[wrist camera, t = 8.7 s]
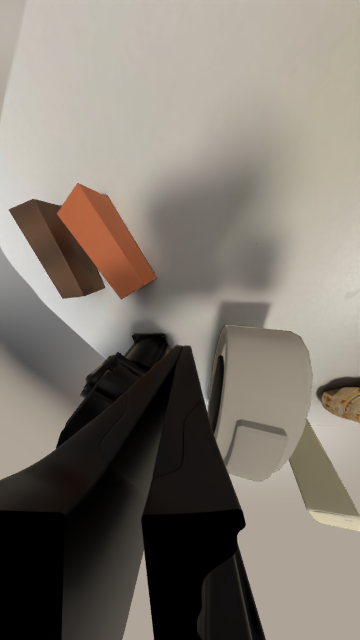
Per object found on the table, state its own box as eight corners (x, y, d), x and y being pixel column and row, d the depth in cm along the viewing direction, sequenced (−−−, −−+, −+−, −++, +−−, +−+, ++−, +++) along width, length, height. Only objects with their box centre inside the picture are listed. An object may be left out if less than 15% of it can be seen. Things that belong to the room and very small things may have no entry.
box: (263, 392, 25) (304, 509, 14) (290, 387, 23) (363, 520, 12) (273, 408, 26) (316, 524, 15) (299, 405, 24) (371, 536, 13)
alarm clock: (222, 303, 18) (236, 392, 7) (272, 306, 17) (380, 419, 6) (207, 399, 29) (204, 489, 19) (236, 405, 28) (250, 504, 17)
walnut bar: (105, 287, 21) (84, 296, 17) (85, 290, 22) (62, 298, 18) (70, 208, 16) (33, 198, 13) (48, 216, 17) (7, 209, 14)
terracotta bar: (157, 277, 18) (144, 285, 15) (136, 290, 20) (120, 299, 16) (108, 197, 15) (77, 182, 11) (88, 220, 16) (56, 213, 13)
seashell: (332, 387, 18) (446, 422, 14) (325, 360, 22) (411, 380, 17) (314, 418, 22) (398, 454, 17) (310, 390, 26) (378, 413, 21)
